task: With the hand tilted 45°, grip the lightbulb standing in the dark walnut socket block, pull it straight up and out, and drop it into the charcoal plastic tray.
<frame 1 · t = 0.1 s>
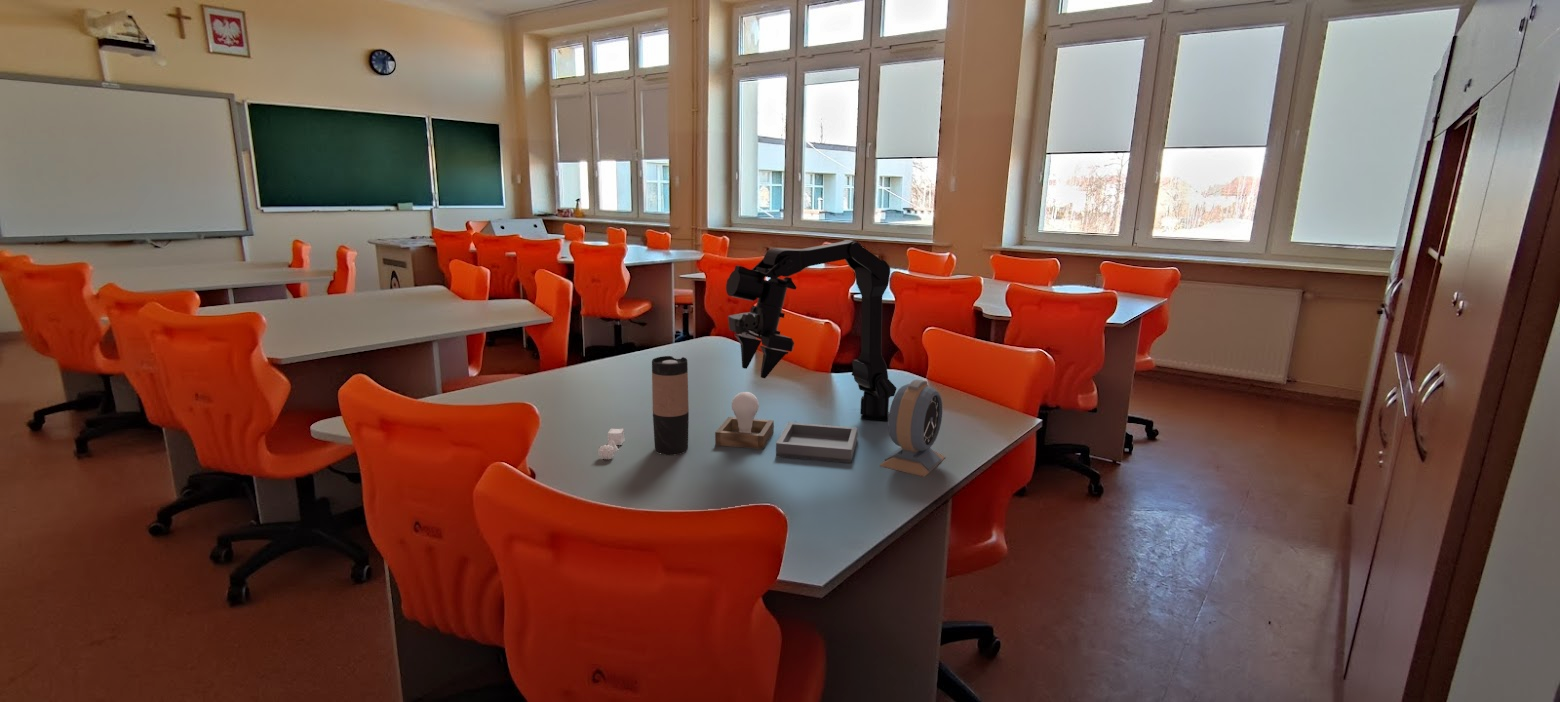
hand: (753, 373, 156), 15 cm above the table, fingers open, 9 cm apart
lightbulb: (745, 439, 160), resting in socket block
travel mug: (671, 449, 153), on the table
game pieces: (611, 452, 151), on the table
tray: (817, 448, 154), on the table
socket block: (745, 438, 160), on the table
alarm clock: (912, 462, 148), on the table
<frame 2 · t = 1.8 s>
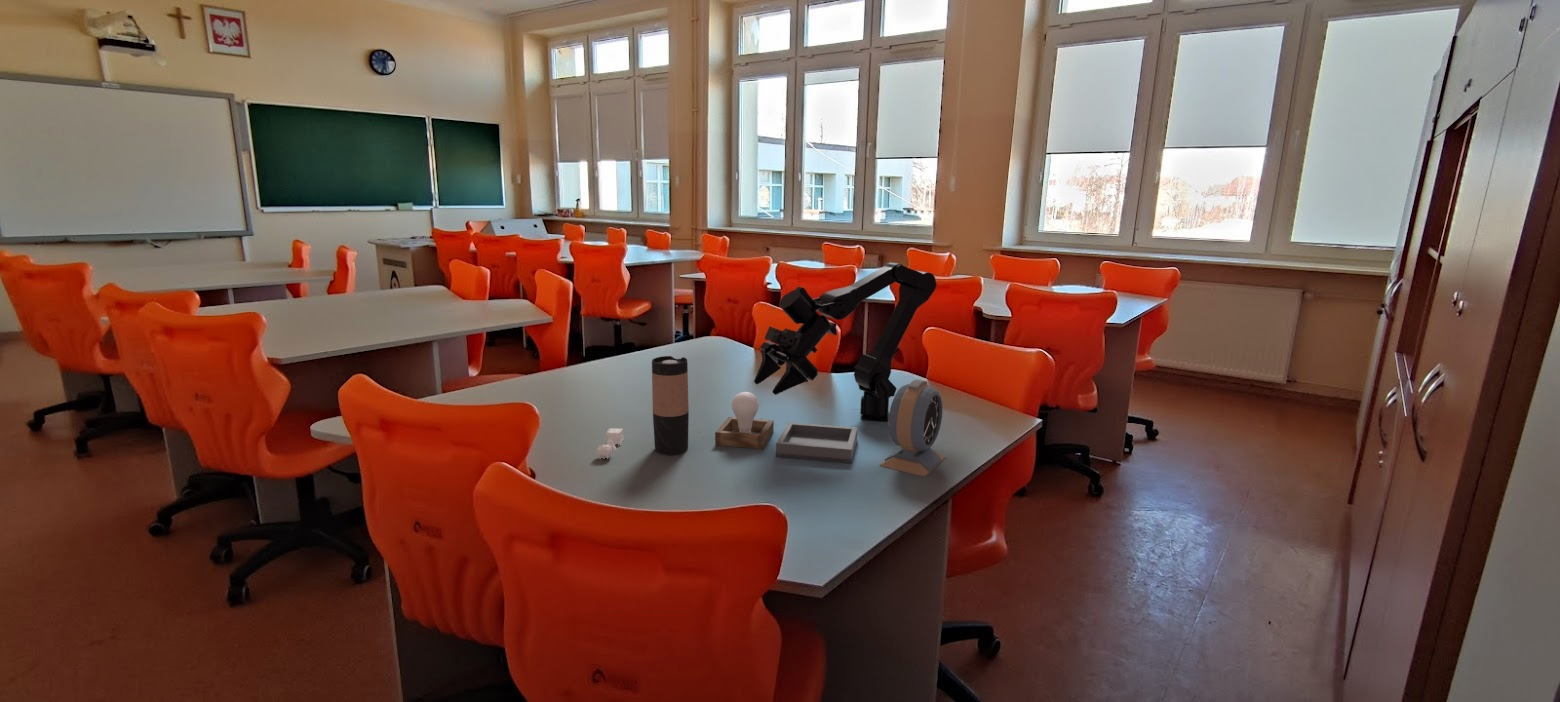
hand: (764, 388, 159), 11 cm above the table, fingers open, 9 cm apart
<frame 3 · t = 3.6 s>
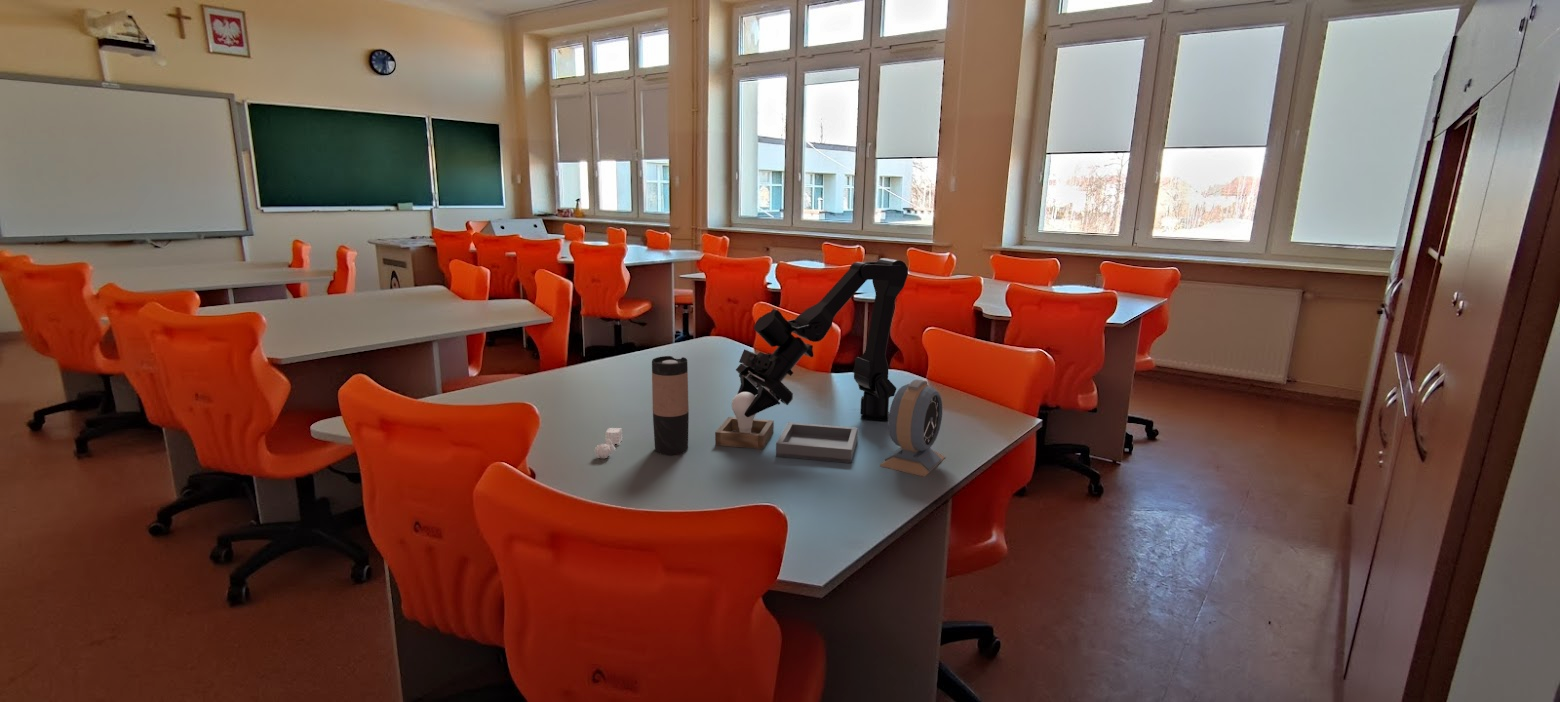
hand: (739, 411, 157), 7 cm above the table, fingers closed on lightbulb, 6 cm apart
lightbulb: (745, 439, 160), resting in socket block, touching gripper
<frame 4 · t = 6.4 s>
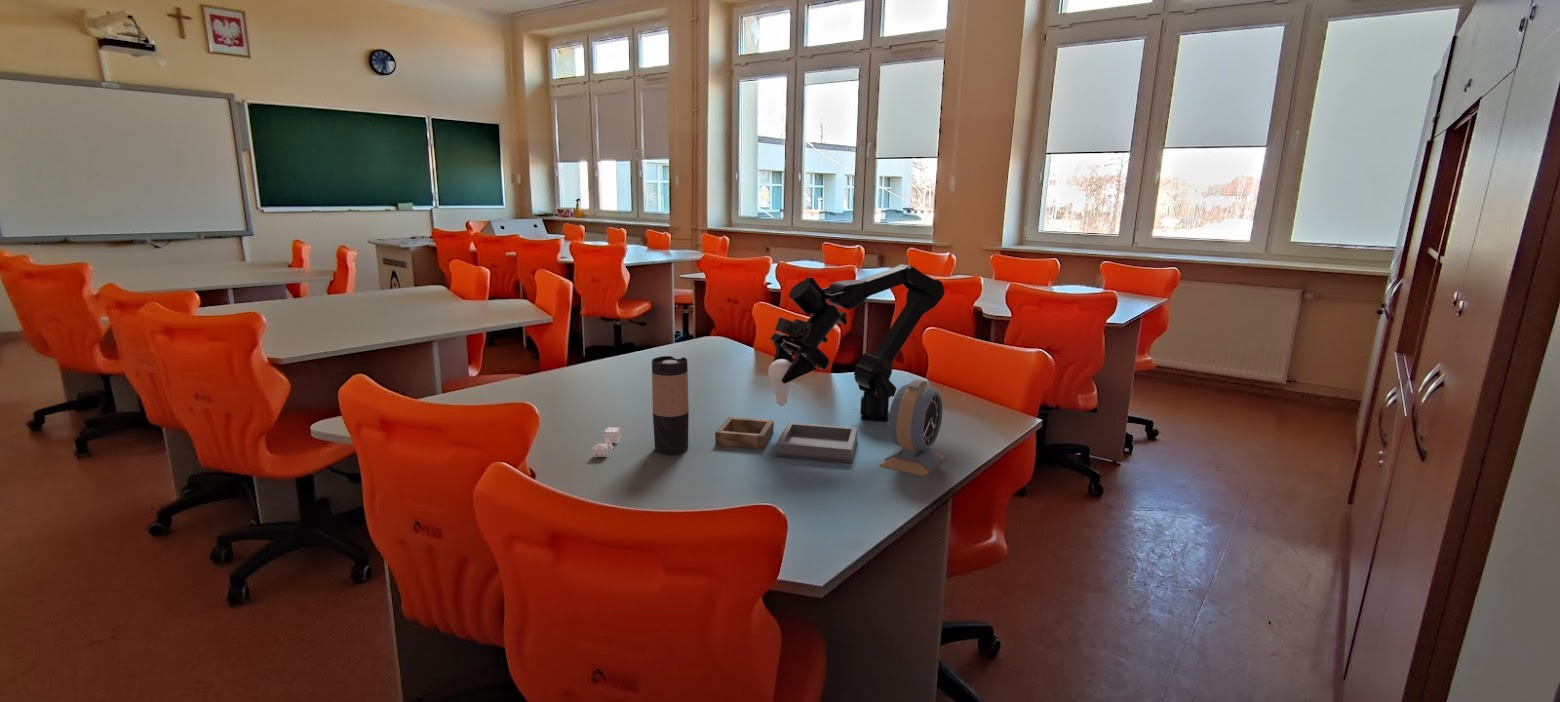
hand: (776, 379, 160), 13 cm above the table, fingers closed on lightbulb, 6 cm apart
lightbulb: (781, 406, 162), point 6 cm above the table, touching gripper
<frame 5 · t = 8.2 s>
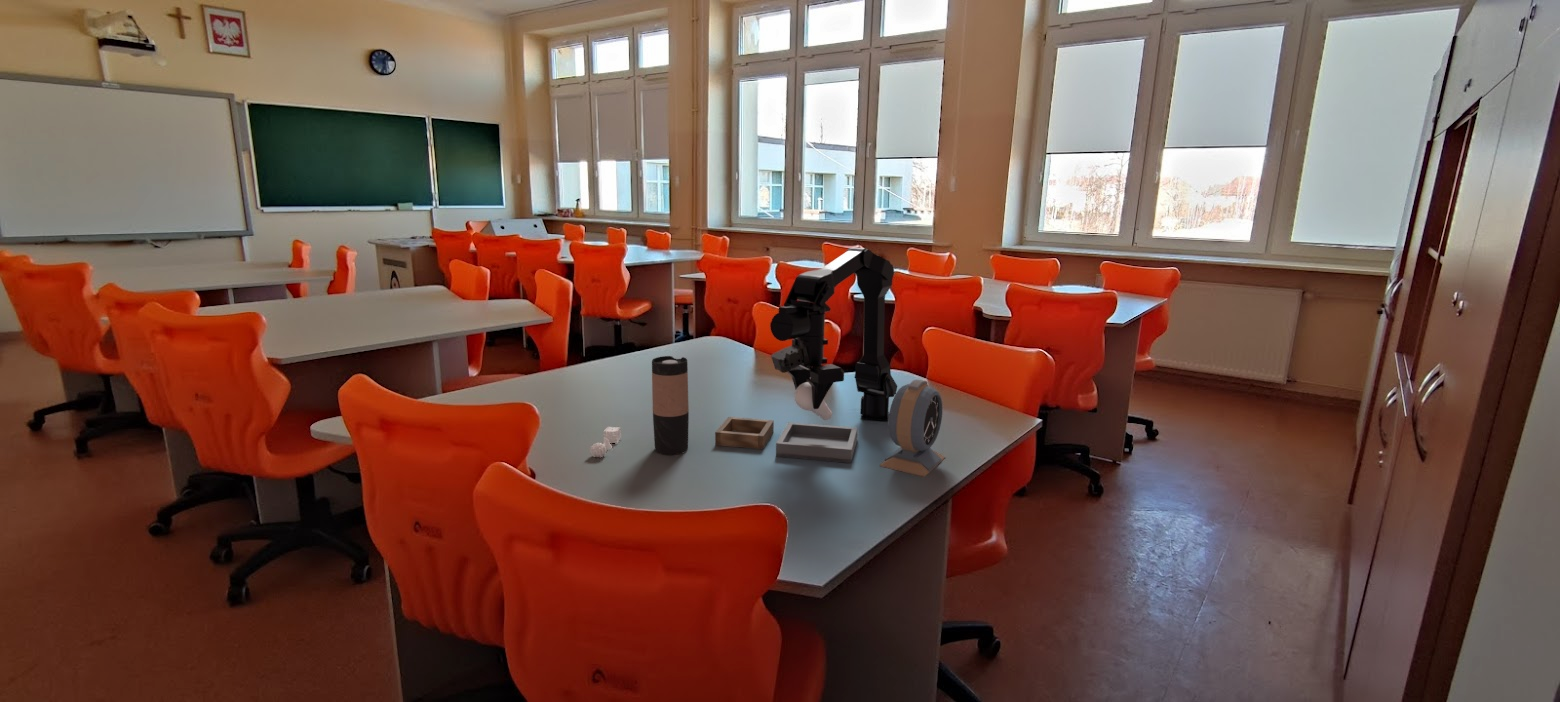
hand: (808, 404, 152), 10 cm above the table, fingers closed on lightbulb, 6 cm apart
lightbulb: (830, 418, 155), point 6 cm above the table, touching gripper
when the fingers open (7 cm above the table, at t = 9.4 s): lightbulb stays where it is, resting on tray.
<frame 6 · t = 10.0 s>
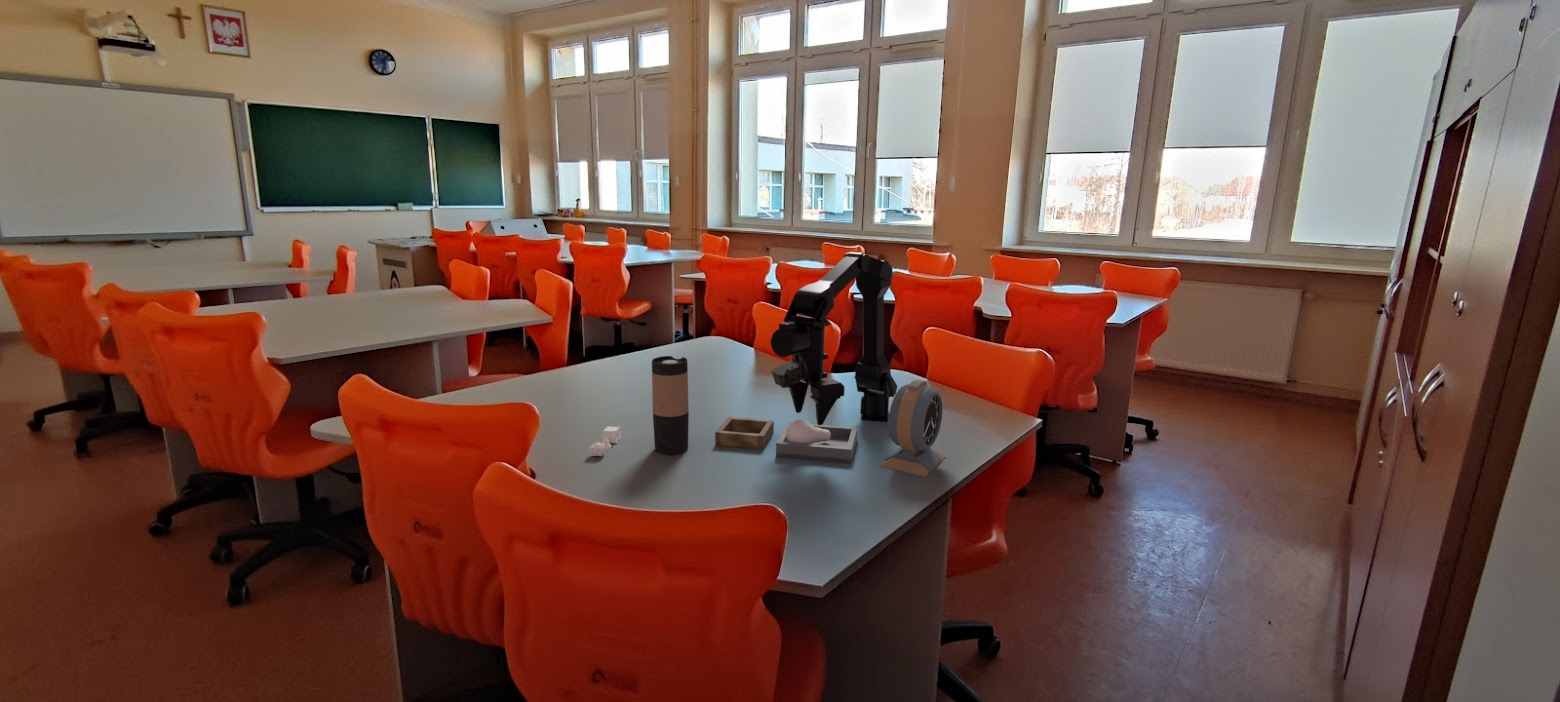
hand: (808, 418, 152), 7 cm above the table, fingers open, 9 cm apart
lightbulb: (830, 435, 156), point 2 cm above the table, touching tray
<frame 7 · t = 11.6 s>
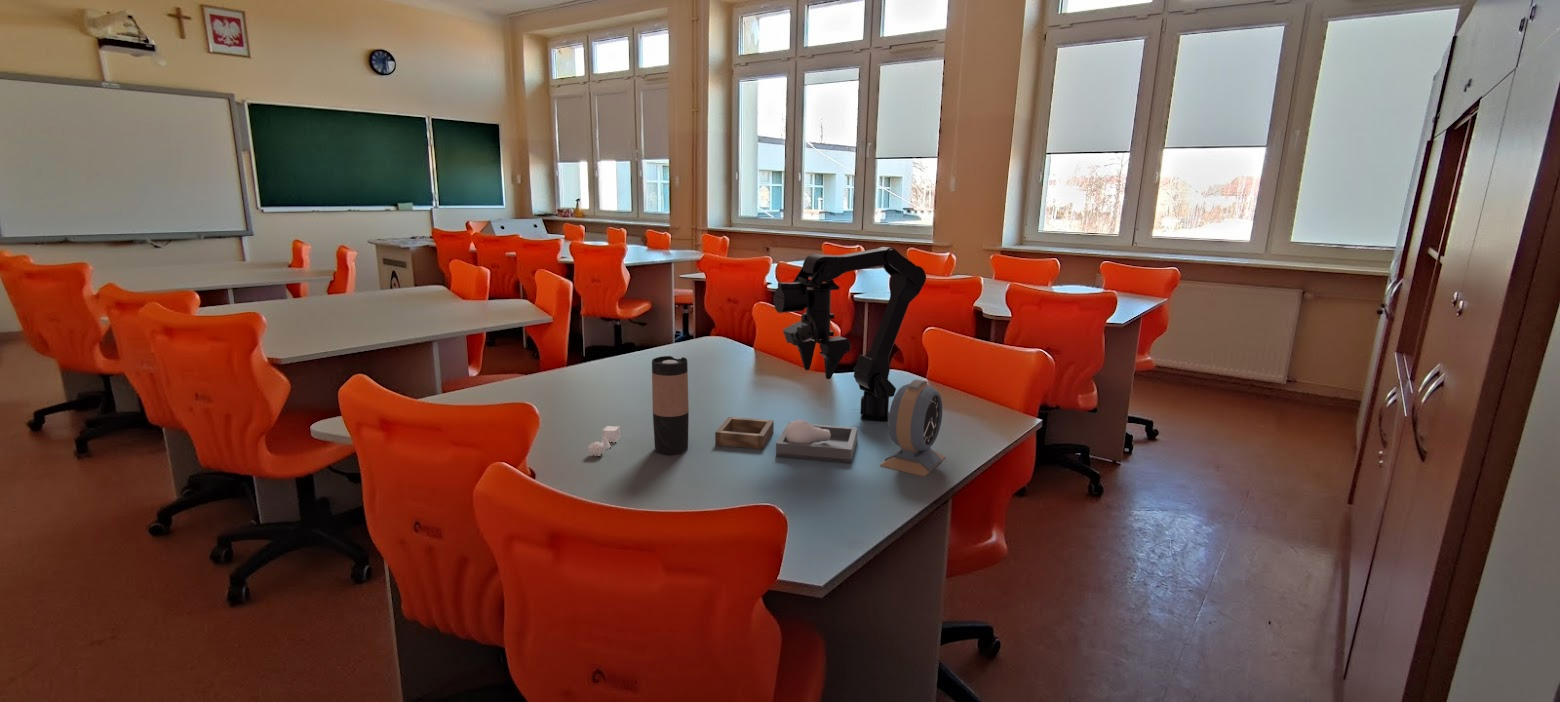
hand: (817, 374, 166), 13 cm above the table, fingers open, 9 cm apart
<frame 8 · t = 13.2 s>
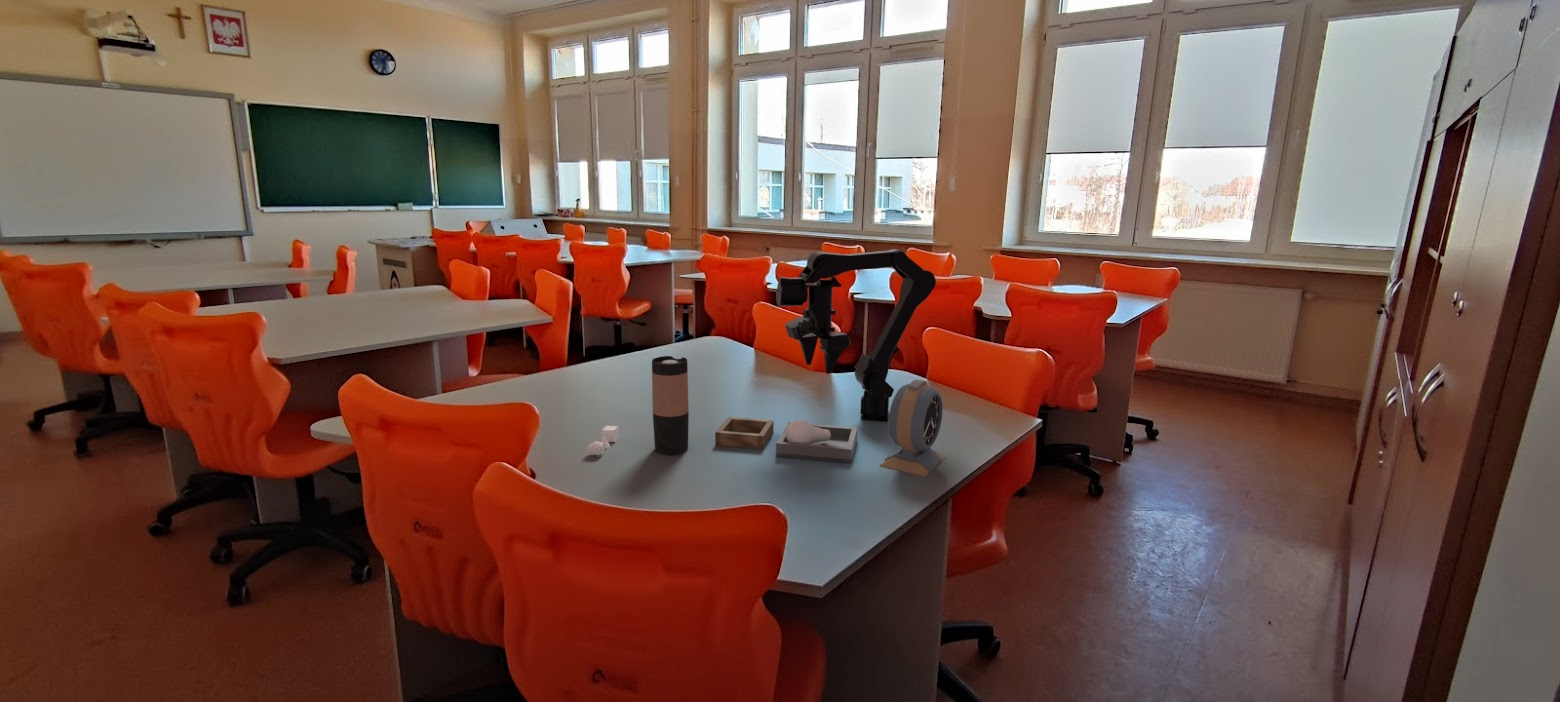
hand: (818, 369, 170), 13 cm above the table, fingers open, 9 cm apart
at the end: lightbulb inside the target area on the tray (3.5 cm from its centre), point 2.3 cm above the tray's base; the gripper is holding nothing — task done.
